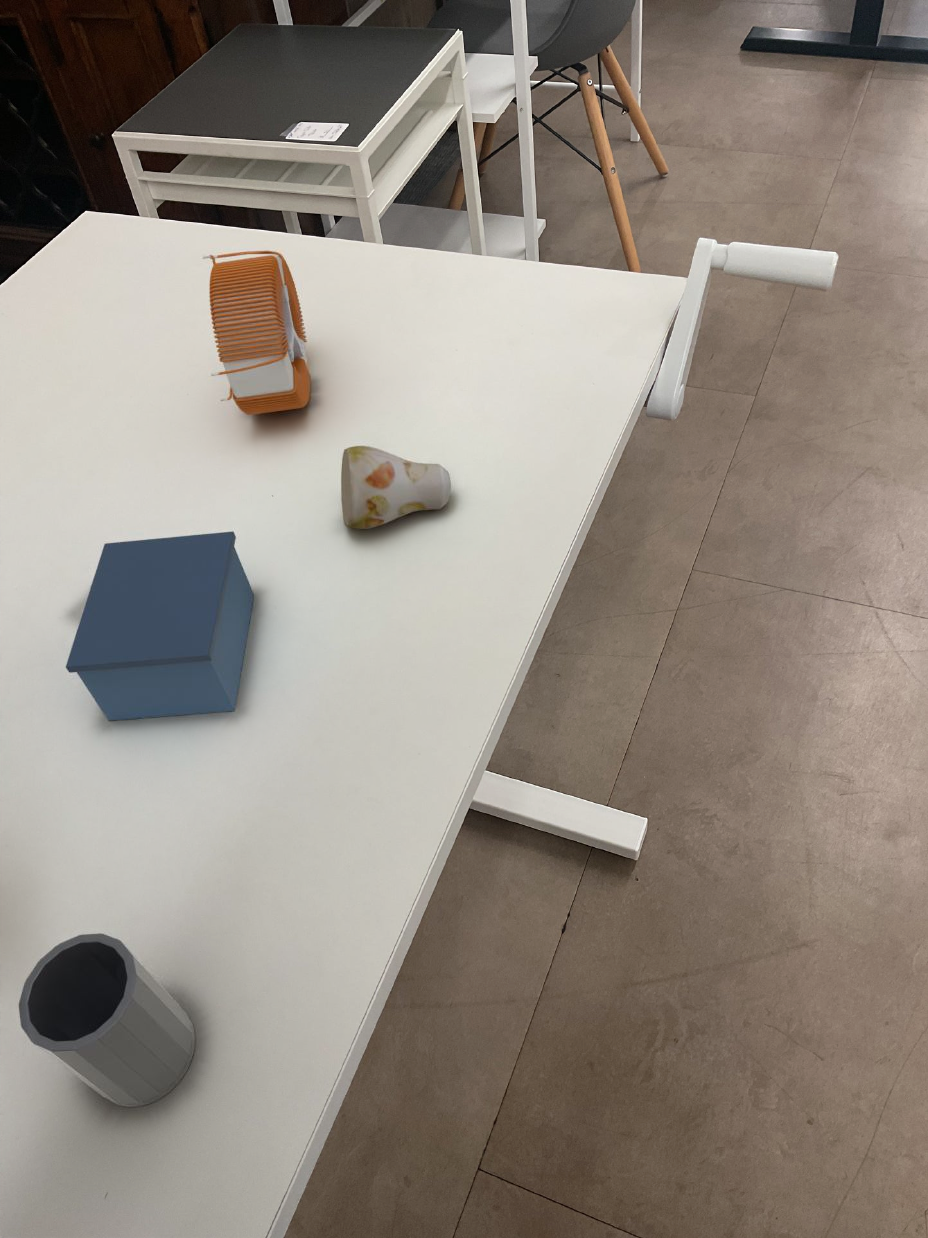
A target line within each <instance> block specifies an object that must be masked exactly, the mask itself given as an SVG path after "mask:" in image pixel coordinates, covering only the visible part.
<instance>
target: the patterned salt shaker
mask: <svg viewBox="0 0 928 1238" xmlns="http://www.w3.org/2000/svg"><path fill="white" fill-rule="evenodd" d="M341 459H342V460H341V472H340V495H341V497H340V499H341V510H342V512H341V513H342V519H343V524H344V526H345V527H347V528H353V529H356V530H357V529H358V530H363V529H364V530H365V529H373V528H377V527H379V526H382V525H385V524H387V523H389V522H392V521H394V520H397V519H398V518H401V517H403V516H406V515H408V514H410V513H415V512H418V511H428V510H429V511H430V510H440V509H442V508H443V507H444V506H445V505H447V503H448V502H449V500H450V498H451V489H452V481H451V476H450V475H451V474H450V473H449V471H448V470H447V469H446V468H445V467H443V466H442V465H441V464H439V463H423V462H422V463H421V462H415V461H411V460H407V459H404V458H402V457H401V456H397V455H395V454H392V453H390V452H387V451H385V450H382V449H380V448H376V447H374V446H368V445H355V446H349V447H347V448H344V450H343V452H342V458H341Z"/></svg>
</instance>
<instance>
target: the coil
mask: <svg viewBox="0 0 928 1238" xmlns="http://www.w3.org/2000/svg"><path fill="white" fill-rule="evenodd" d="M245 255H260V256H253V257H247V258H240V259H234V260H233V259H232V260H226V261H221V262H217V261H216V259H221V258H230V257H238V256H245ZM202 259H203V260H204V259H210V260H212V264H213V265H212V266H211V267H212V268H211V270H210V276H209V292H208V294H209V306H210V308H209V309H210V315H211V324H212V325H213V326H212V329H213V334H214V336H213V337H214V339H216V340H215V341H214V343H216V345H215V347H216V348H217V349H216V352H217V353H218V354H217V356H218V358H219V362H220V363H222V365H223V368H224V371H217V372H211V373H210V375H211V377H217V376H221V375H226V378H227V381H228V383H229V396H228V397H222V398H220V402H227V401H230V400H233V401H234V403H235V404H236V406H237V407H238V409H239V410H240V411H241V412H243V414H245V415H250V416H252V415H253V416H254V415H259V414H265V413H267V414H268V413H274V412H281V411H288V410H295V409H303V408H304V407H306V406H307V404H308V403H309V400H310V397H311V374H310V371H309V368H308V358H307V350H306V343H307V342H308V339H306V338H307V335H305V334H306V331H305V329H306V328H305V327H304V325H305V323H304V319H303V314H302V310H301V309H302V308H301V303H300V299H299V295H298V291H297V288H296V284H295V281H294V278H293V275H292V272H291V270H290V267H289V265H288V262H287V260H286V259H285V257H284V255H283V254H281V253H280V252H278V251H272V250H252V251H251V250H249V251H248V250H247V251H241V252H232V253H225V254H218V255H212V254H207V255H202Z"/></svg>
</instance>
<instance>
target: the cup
mask: <svg viewBox="0 0 928 1238" xmlns="http://www.w3.org/2000/svg"><path fill="white" fill-rule="evenodd" d="M18 1015H19V1019H20V1020H19V1022H20V1027H21V1029H22V1030H23V1032H24V1033H25V1035H26V1036H27V1038H29V1040H30V1042H31V1043H32V1044H33V1045H34V1046H36V1047H37V1048H38V1049H39V1050H41V1051H42V1052H44V1053H45V1054H46V1055H47V1056H49V1058H52V1059H53V1060H54V1061H56V1063H58V1064H59V1065H60V1066H62V1067H63V1068H64V1069H66V1070H67V1071H69V1072H70V1073H71V1074H72V1075H74V1076H75V1077H76V1078H78V1079H79V1080H80V1081H82V1082H83V1083H84V1084H86V1085H87V1086H88V1087H90V1088H91V1089H92V1090H94V1091H95V1092H96V1093H98V1094H99V1095H100V1096H102V1097H103V1098H104V1099H107V1100H108V1101H109V1102H111V1103H113V1104H114V1105H115V1104H116V1105H117V1106H120V1107H121V1106H122V1107H125V1108H135V1107H142V1106H147V1105H149V1104H152V1103H154V1102H156V1101H158V1100H160V1099H162V1098H163V1097H165V1096H167V1095H168V1094H169V1093H170V1092H171V1091H173V1089H175V1087H177V1085H178V1084H179V1083H180V1082H181V1081H182V1079H183V1078H184V1076H185V1074H186V1073H187V1072H188V1070H189V1067H190V1065H191V1063H192V1060H193V1056H194V1053H195V1049H196V1047H195V1046H196V1035H195V1034H196V1033H195V1028H194V1025H193V1022H192V1019H191V1017H189V1015H188V1014H187V1012H186V1011H185V1010H184V1009H183V1008H182V1007H181V1005H180V1004H179V1003H178V1002H177V1000H176V999H174V997H173V996H172V995H171V994H170V993H169V992H168V991H167V990H166V988H164V987H163V985H162V984H161V983H160V982H159V980H157V979H156V978H155V977H154V976H153V974H152V973H151V972H150V971H149V970H148V969H147V968H146V967H145V966H144V964H143V963H142V962H141V961H140V960H139V959H138V958H137V957H136V956H135V955H134V954H133V952H132V951H131V950H130V949H129V948H128V947H127V946H126V945H125V944H124V943H123V941H122V940H120V939H118V938H115V937H113V936H111V935H109V934H108V935H107V934H106V933H100V932H99V933H85V934H78V935H76V936H74V937H72V938H69V939H67V940H64V941H62V942H60V943H58V944H57V945H55V946H54V947H53V948H52V949H50V951H48V952H47V953H46V954H45V955H44V956H42V957H41V958H40V959H39V960H38V961H37V963H36V965H35V966H34V967H33V969H32V970H31V972H30V973H29V974H28V976H27V977H26V979H25V982H24V983H23V987H22V991H21V995H20V997H19V1001H18Z"/></svg>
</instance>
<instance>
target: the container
mask: <svg viewBox="0 0 928 1238" xmlns="http://www.w3.org/2000/svg"><path fill="white" fill-rule="evenodd" d="M236 539H237V537H236V534H235V532H234V531H222V532H215V533H214V532H212V533H211V532H210V533H203V534H202V533H201V534H192V535H190V534H189V535H179V536H170V537H161V538H160V537H158V538H149V539H148V538H147V539H139V540H138V539H137V540H129V541H128V540H126V541H118V542H117V541H116V542H105V543H104V545H103V548H102V550H101V554H100V557H99V560H98V562H97V563H98V564H97V567H96V569H95V573H94V576H93V579H92V582H91V585H90V589H89V591H88V595H87V598H86V602H85V604H84V608H83V611H82V613H81V616H80V621H79V624H78V626H77V630H76V633H75V636H74V638H73V642H72V645H71V648H70V652H69V655H68V659H67V661H66V664H65V668H66V670H67V671H68V673H76V674H77V676H78V677H79V679H81V681H82V683H83V684H84V686H85V688H86V689H87V690H88V692H89V694H90V695H91V697H92V698H93V699H94V701H95V702H96V704H97V706H98V707H99V709H100V710H101V711H102V713H103V715H104V716H105V718H106V719H107V721H109V722H110V721H111V722H112V721H123V720H125V721H126V720H137V719H149V718H160V717H161V718H162V717H173V716H186V715H199V714H211V713H226V712H234V711H235V710H236V703H237V698H238V693H239V686H240V680H241V674H242V669H243V663H244V658H245V657H244V656H245V651H246V645H247V639H248V633H249V627H250V621H251V615H252V611H253V610H252V609H253V603H254V598H255V594H254V591H253V589H252V586H251V584H250V581H249V579H248V576H247V574H246V571H245V569H244V567H243V564H242V562H241V560H240V557H239V555H238V552H237V550H236V548H235V543H236Z"/></svg>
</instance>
